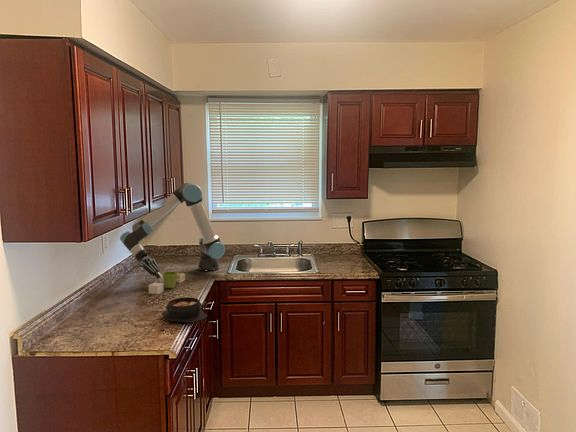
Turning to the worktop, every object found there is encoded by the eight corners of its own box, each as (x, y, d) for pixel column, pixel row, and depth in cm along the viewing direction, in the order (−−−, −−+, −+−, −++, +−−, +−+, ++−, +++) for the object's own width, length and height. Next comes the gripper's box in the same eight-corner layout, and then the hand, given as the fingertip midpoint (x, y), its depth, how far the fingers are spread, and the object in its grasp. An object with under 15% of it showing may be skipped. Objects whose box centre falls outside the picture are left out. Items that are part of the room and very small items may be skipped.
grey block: (148, 293, 257) (148, 285, 257) (154, 290, 263) (154, 282, 262) (157, 294, 255) (157, 285, 255) (163, 291, 261) (163, 283, 261)
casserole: (152, 318, 214) (151, 301, 213) (182, 308, 229) (182, 292, 228) (186, 329, 199) (185, 311, 198) (216, 318, 214) (216, 301, 213)
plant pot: (170, 283, 276) (170, 270, 275) (181, 286, 271) (181, 272, 270) (158, 287, 268) (158, 273, 267) (169, 290, 263) (169, 276, 262)
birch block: (171, 282, 280) (171, 275, 280) (176, 280, 286) (176, 272, 285) (180, 283, 278) (179, 275, 278) (185, 281, 284) (184, 273, 284)
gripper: (142, 254, 281) (166, 282, 278) (129, 258, 269) (153, 288, 265) (149, 247, 279) (173, 274, 275) (136, 250, 266) (160, 280, 263)
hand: (163, 281), depth 270 cm, fingers closed
